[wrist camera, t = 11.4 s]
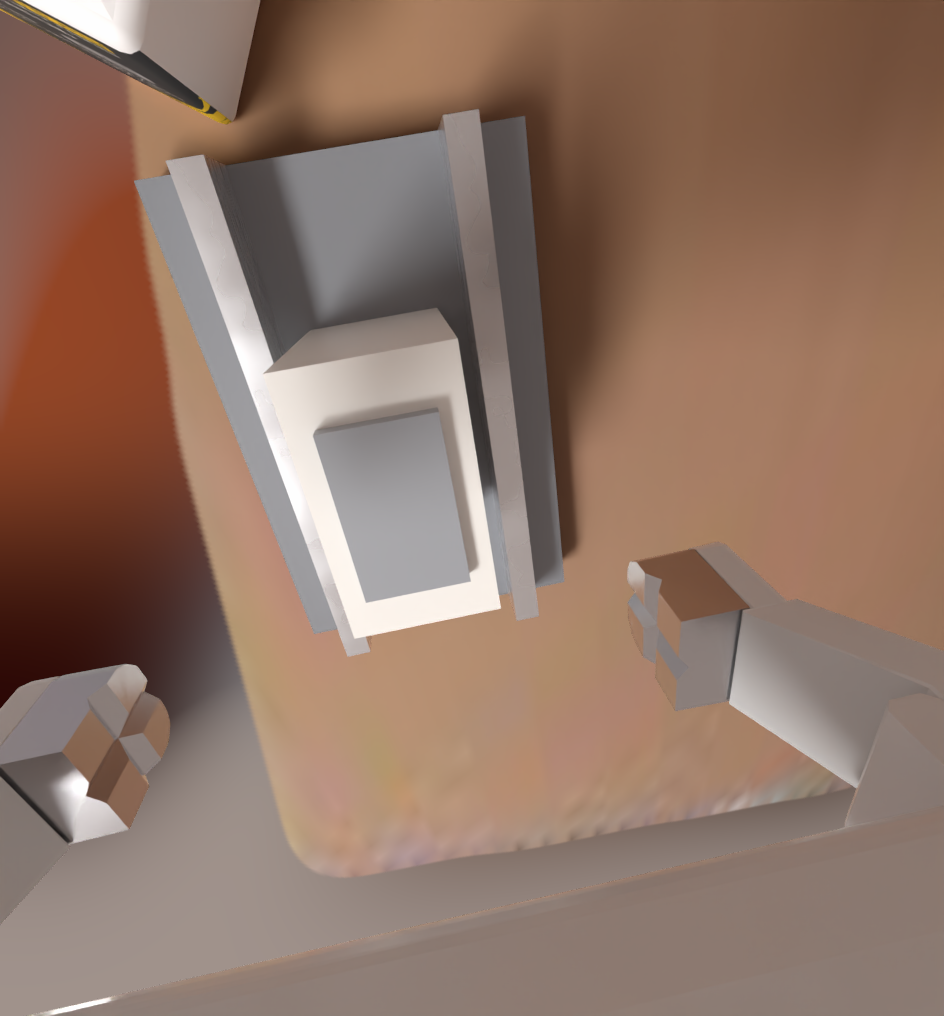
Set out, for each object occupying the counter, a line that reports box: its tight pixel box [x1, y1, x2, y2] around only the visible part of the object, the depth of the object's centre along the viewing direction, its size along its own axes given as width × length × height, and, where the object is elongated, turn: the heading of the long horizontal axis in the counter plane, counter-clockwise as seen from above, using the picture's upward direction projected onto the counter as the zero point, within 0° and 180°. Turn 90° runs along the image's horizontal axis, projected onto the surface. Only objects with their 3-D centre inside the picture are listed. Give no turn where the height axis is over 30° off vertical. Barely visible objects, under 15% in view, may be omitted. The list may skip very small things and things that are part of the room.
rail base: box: [134, 116, 564, 634], centre depth 20 cm, size 18×12×2 cm, turn 9°
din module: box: [263, 308, 501, 639], centre depth 16 cm, size 8×4×7 cm, turn 9°
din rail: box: [166, 109, 539, 656], centre depth 19 cm, size 18×8×2 cm, turn 9°
